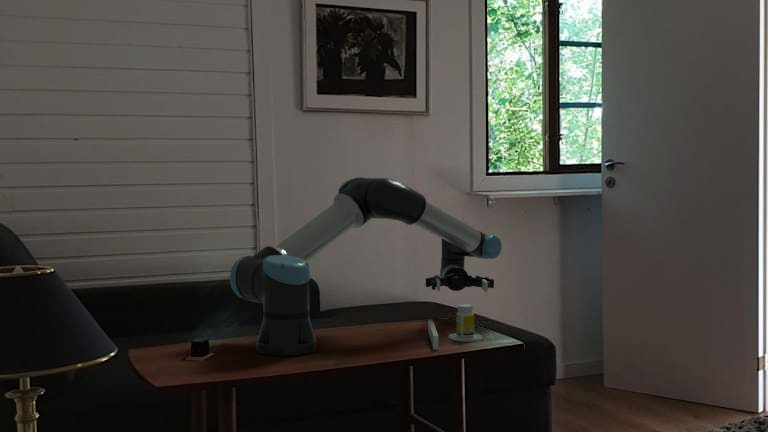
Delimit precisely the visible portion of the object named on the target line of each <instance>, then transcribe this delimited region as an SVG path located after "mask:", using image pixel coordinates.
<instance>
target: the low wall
mask: <svg viewBox="0 0 768 432" xmlns="http://www.w3.org/2000/svg"><path fill="white" fill-rule="evenodd" d="M427 324H428V325H427V327H428V328H427V330H428V331H427V332H428V336H429V339H430V342H431V345H432V349H433V350H434V351H435V350H437V351H438V350H439V334H438V331H437V329H436V326H435V323H434V320H433V319H428V322H427Z"/></svg>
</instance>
